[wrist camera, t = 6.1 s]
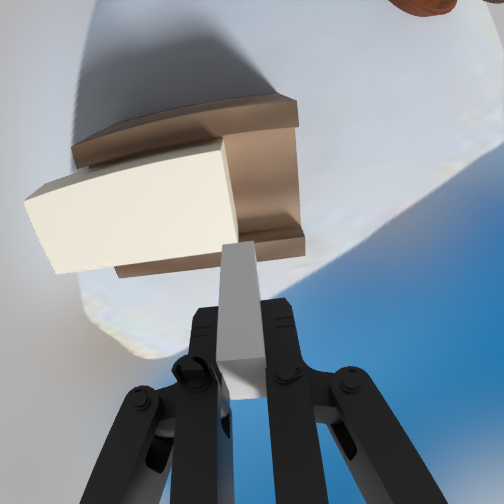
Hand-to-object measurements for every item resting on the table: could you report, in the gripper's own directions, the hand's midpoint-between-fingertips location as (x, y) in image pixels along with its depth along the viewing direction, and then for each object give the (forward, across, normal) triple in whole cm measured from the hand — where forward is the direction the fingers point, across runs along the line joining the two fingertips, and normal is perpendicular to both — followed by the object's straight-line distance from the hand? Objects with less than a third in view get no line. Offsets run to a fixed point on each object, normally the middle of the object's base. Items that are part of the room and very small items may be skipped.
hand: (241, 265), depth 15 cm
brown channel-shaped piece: (+20, -4, 0) cm, 20 cm away
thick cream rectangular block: (+12, -10, 0) cm, 15 cm away
